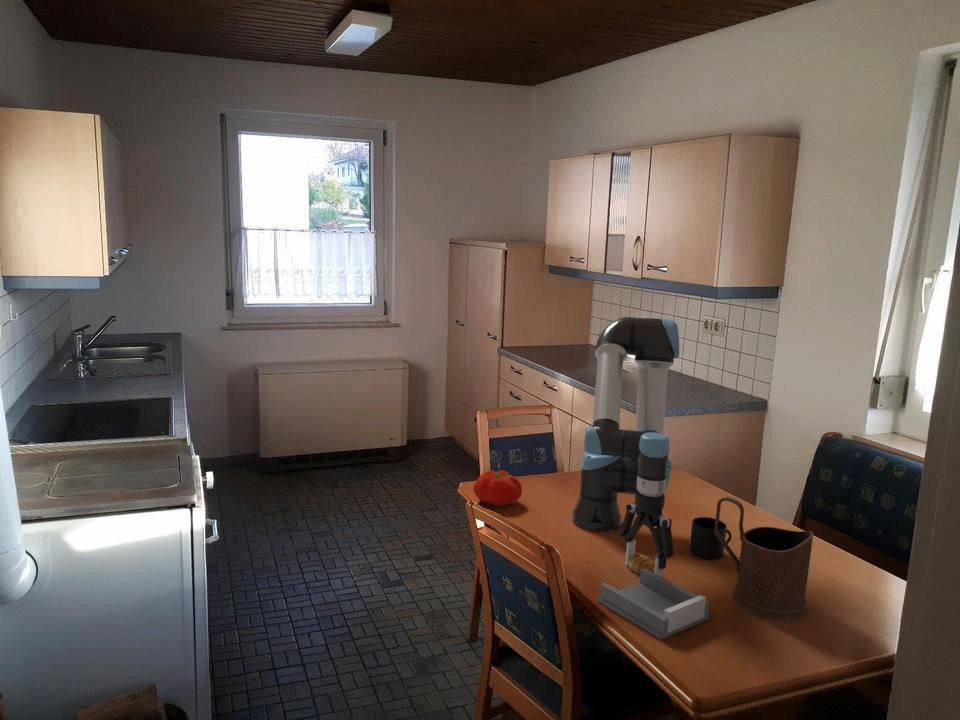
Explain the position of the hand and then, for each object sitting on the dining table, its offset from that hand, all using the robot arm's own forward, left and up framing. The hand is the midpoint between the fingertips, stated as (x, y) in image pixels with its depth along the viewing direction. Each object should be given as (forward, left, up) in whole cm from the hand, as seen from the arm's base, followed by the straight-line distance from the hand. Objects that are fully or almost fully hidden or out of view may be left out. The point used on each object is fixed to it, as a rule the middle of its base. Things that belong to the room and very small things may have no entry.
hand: (643, 571), depth 198 cm
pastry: (-1, +1, -1) cm, 1 cm away
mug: (+2, +26, 0) cm, 26 cm away
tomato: (-60, -4, 0) cm, 60 cm away
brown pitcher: (+26, +13, 0) cm, 29 cm away
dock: (+15, -13, 0) cm, 20 cm away
